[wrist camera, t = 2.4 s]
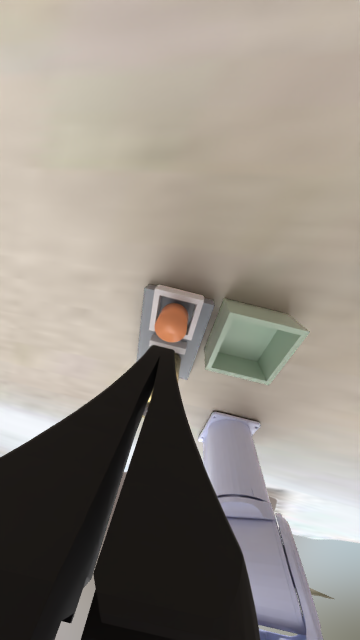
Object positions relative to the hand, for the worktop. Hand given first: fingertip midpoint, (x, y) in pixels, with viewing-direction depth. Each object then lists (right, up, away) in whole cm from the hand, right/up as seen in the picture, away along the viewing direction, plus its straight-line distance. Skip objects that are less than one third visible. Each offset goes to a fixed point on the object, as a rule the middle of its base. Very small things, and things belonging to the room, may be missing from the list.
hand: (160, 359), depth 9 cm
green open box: (+8, +1, +8) cm, 12 cm away
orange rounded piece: (+1, +3, +5) cm, 6 cm away
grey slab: (0, +1, +10) cm, 10 cm away
